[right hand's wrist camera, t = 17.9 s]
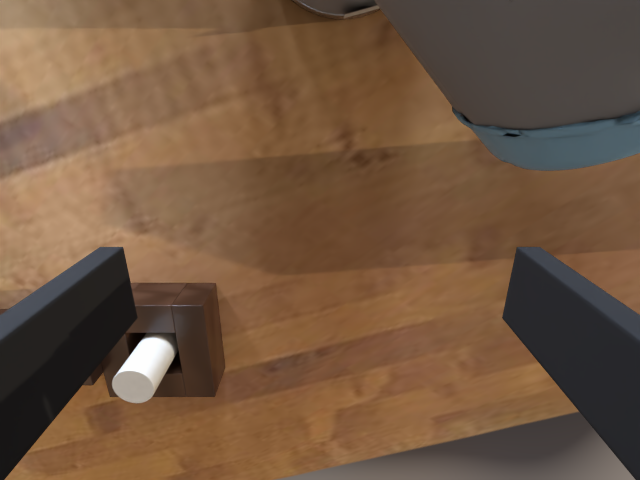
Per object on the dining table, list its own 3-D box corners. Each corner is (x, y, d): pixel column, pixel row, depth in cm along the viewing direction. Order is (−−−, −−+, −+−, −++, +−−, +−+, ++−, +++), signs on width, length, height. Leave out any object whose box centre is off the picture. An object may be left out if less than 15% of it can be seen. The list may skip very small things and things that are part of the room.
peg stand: (-28, 367, 47) (-84, 410, 40) (-63, 282, 43) (-132, 316, 36) (225, 367, 47) (210, 410, 40) (215, 282, 43) (197, 316, 36)
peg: (152, 312, 44) (107, 370, 35) (186, 312, 44) (150, 370, 35) (158, 340, 45) (116, 403, 36) (190, 340, 45) (157, 403, 36)
